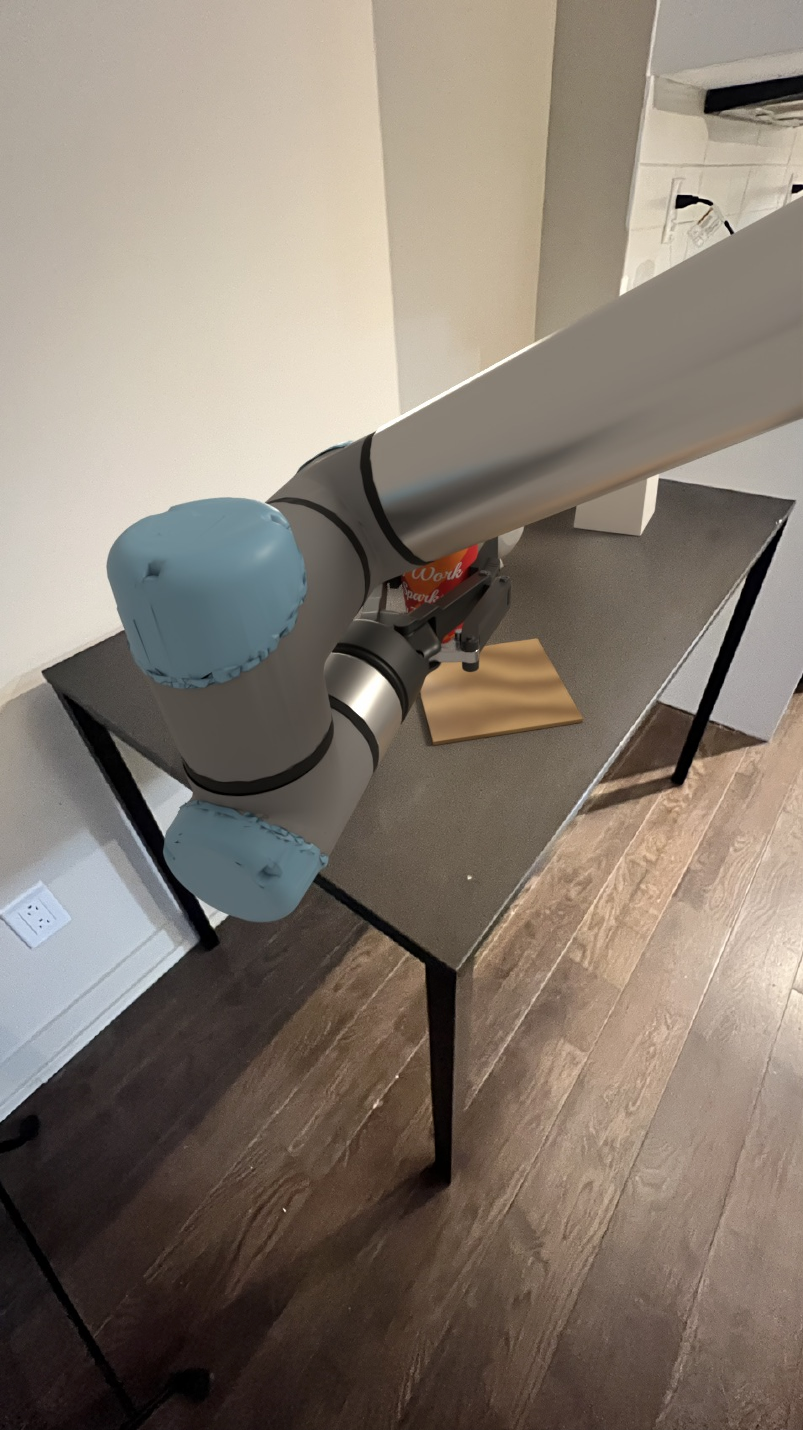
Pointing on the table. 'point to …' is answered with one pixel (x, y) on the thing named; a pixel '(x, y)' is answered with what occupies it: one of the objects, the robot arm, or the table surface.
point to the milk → (620, 509)
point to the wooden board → (496, 695)
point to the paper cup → (437, 580)
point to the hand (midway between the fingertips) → (454, 545)
